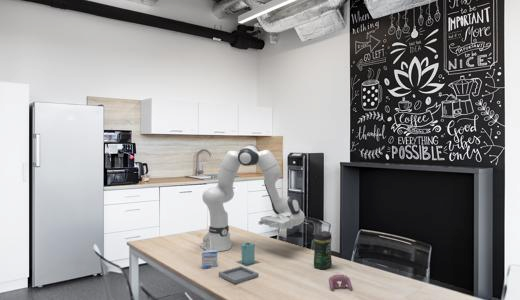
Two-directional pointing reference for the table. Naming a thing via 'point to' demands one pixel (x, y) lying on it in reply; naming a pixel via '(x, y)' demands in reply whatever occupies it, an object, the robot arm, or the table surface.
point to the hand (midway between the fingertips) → (264, 224)
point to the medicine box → (209, 259)
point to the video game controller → (336, 278)
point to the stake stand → (248, 264)
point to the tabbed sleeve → (248, 253)
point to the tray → (238, 275)
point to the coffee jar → (322, 250)
